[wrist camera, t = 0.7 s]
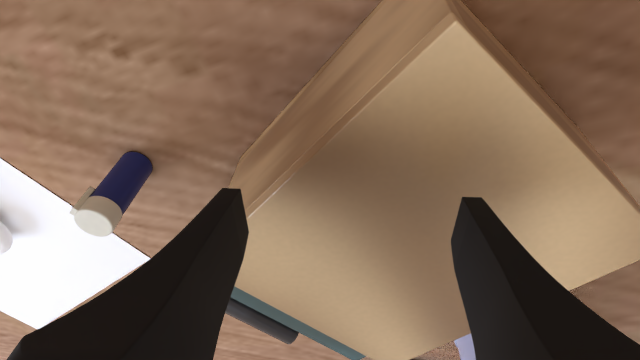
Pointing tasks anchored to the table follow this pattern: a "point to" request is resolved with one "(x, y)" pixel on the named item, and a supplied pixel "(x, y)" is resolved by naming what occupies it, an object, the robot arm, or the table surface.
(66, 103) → the table surface
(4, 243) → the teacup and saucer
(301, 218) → the cabinet
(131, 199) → the pen
